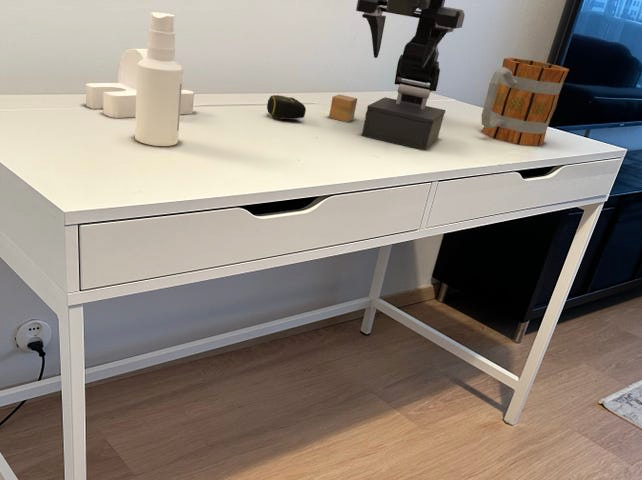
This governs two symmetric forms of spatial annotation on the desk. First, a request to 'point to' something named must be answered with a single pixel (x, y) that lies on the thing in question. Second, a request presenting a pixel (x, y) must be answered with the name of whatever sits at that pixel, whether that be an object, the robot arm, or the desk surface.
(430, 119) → the lid
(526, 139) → the mug
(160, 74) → the spray bottle
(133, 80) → the white slotted bracket
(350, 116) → the orange-brown cube
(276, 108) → the tape measure
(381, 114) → the dark grey box
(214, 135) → the desk surface
